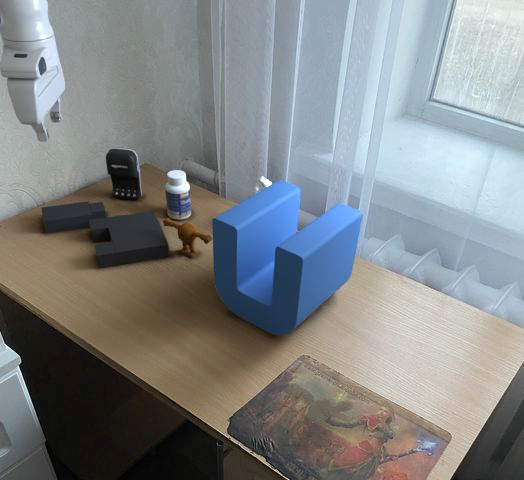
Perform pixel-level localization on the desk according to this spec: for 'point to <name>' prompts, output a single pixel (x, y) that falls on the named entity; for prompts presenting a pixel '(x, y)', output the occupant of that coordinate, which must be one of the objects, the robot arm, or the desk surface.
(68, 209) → the charcoal pad
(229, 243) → the block
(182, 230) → the toy figurine
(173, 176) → the pill bottle
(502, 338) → the desk surface
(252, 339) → the desk surface
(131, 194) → the battery charger
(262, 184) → the white creature statuette
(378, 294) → the desk surface
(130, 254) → the black pad
